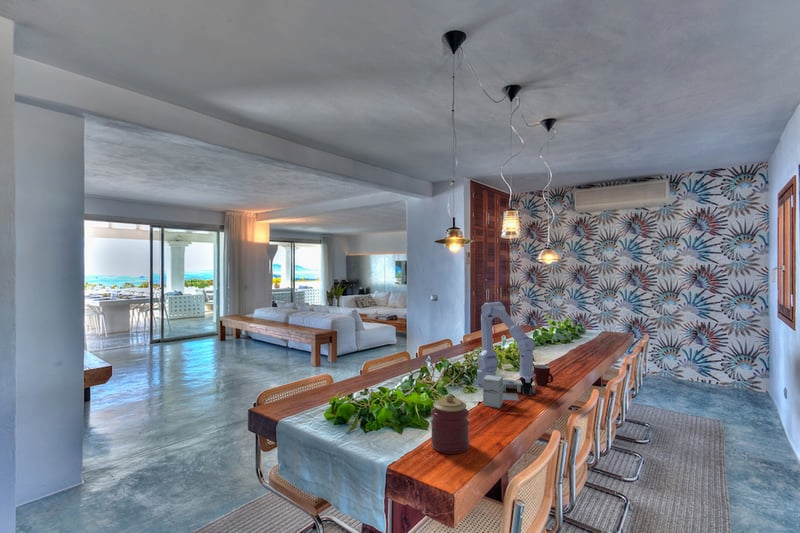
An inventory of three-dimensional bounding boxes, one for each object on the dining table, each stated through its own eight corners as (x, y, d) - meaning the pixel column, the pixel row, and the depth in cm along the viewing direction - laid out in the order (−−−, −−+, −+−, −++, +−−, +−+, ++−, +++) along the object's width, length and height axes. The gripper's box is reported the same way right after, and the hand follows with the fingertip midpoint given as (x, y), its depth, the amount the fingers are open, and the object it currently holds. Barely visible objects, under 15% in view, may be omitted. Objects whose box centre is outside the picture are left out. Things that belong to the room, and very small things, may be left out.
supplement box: (482, 407, 169) (482, 378, 169) (487, 402, 176) (486, 374, 176) (499, 410, 166) (499, 380, 166) (503, 404, 172) (503, 376, 173)
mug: (557, 387, 197) (557, 367, 197) (549, 390, 192) (549, 370, 192) (539, 382, 205) (538, 363, 205) (530, 385, 200) (530, 366, 200)
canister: (424, 449, 130) (423, 396, 131) (442, 435, 141) (441, 386, 141) (459, 459, 123) (458, 403, 123) (475, 443, 134) (474, 392, 134)
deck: (500, 401, 177) (500, 399, 177) (500, 394, 187) (500, 392, 187) (519, 402, 175) (519, 400, 175) (517, 395, 185) (517, 393, 185)
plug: (523, 396, 183) (523, 389, 183) (520, 391, 191) (520, 384, 191) (532, 397, 183) (532, 389, 183) (529, 391, 190) (529, 384, 191)
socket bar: (503, 393, 189) (502, 383, 189) (502, 388, 195) (502, 379, 195) (535, 394, 185) (535, 384, 185) (533, 390, 192) (533, 380, 192)
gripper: (537, 368, 171) (537, 399, 171) (533, 361, 185) (533, 389, 185) (520, 368, 173) (521, 398, 173) (518, 360, 187) (518, 388, 187)
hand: (526, 393), depth 179 cm, fingers closed
